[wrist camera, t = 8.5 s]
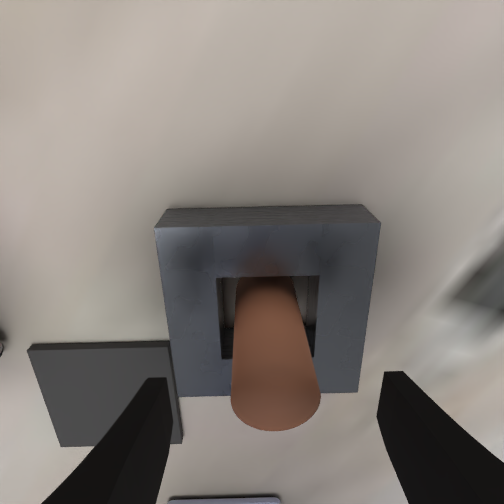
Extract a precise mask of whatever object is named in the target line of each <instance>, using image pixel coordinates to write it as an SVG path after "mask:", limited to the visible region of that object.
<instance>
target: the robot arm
mask: <svg viewBox="0 0 504 504" xmlns="http://www.w3.org/2000/svg"><path fill="white" fill-rule="evenodd" d="M377 420H378V424H379V427H380V431H381V434H382V437H383V441H384V444H385V447H386V450H387V452H388V455H389V457H390V460H391V462H392V465H393V467H394V469H395V472H396V474H397V477H398V479H399V481H400V484H401V486H402V488H403V491H404V493H405V496H406V498H407V500H408V503H409V504H504V463H503V462H502V461H501V460H499V459H498V458H497V457H496V456H494V455H493V454H492V453H491V452H490V451H488V450H487V449H486V448H485V447H484V446H483V445H481V444H480V443H479V442H478V441H477V440H475V439H474V438H473V437H472V436H471V435H470V434H469V433H467V432H466V431H465V430H464V429H463V428H462V427H461V426H460V425H458V424H457V423H456V422H455V421H454V420H453V419H452V418H451V417H450V416H449V415H448V414H446V413H445V412H444V411H443V410H442V409H441V408H440V407H439V406H438V405H437V404H436V403H435V402H434V401H433V400H432V399H431V398H430V397H429V396H428V395H427V394H426V393H425V392H424V391H423V390H422V389H421V388H420V387H418V386H417V385H416V384H415V383H414V382H413V381H412V380H411V379H410V378H409V377H408V376H407V375H406V374H405V373H404V372H403V371H389V372H384V376H383V382H382V388H381V393H380V399H379V405H378V410H377ZM172 428H173V415H172V409H171V402H170V396H169V390H168V383H167V377H152V378H147V379H146V380H145V381H144V383H143V384H142V386H141V387H140V389H139V390H138V391H137V393H136V394H135V396H134V397H133V398H132V400H131V401H130V403H129V404H128V405H127V407H126V408H125V409H124V411H123V412H122V413H121V415H120V416H119V417H118V419H117V420H116V421H115V422H114V424H113V425H112V426H111V427H110V429H109V430H108V431H107V433H106V434H105V435H104V436H103V438H102V439H101V440H100V441H99V442H98V443H97V445H96V446H95V447H94V448H93V449H92V450H91V452H90V453H89V454H88V455H87V456H86V457H85V459H84V460H83V461H82V462H81V463H80V464H79V465H78V466H77V468H76V469H75V470H74V471H73V472H72V473H71V474H70V475H69V476H68V477H67V478H66V479H65V480H64V481H63V482H62V484H61V485H60V486H59V487H58V488H57V489H56V490H55V491H54V492H53V493H52V494H51V495H50V496H49V497H48V498H47V499H46V500H44V501H43V502H42V503H41V504H156V500H157V497H158V493H159V489H160V485H161V482H162V478H163V474H164V470H165V466H166V462H167V458H168V454H169V448H170V442H171V435H172ZM167 504H281V502H280V500H279V499H278V498H276V497H264V498H228V499H191V500H171V501H169V502H168V503H167Z"/></svg>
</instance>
